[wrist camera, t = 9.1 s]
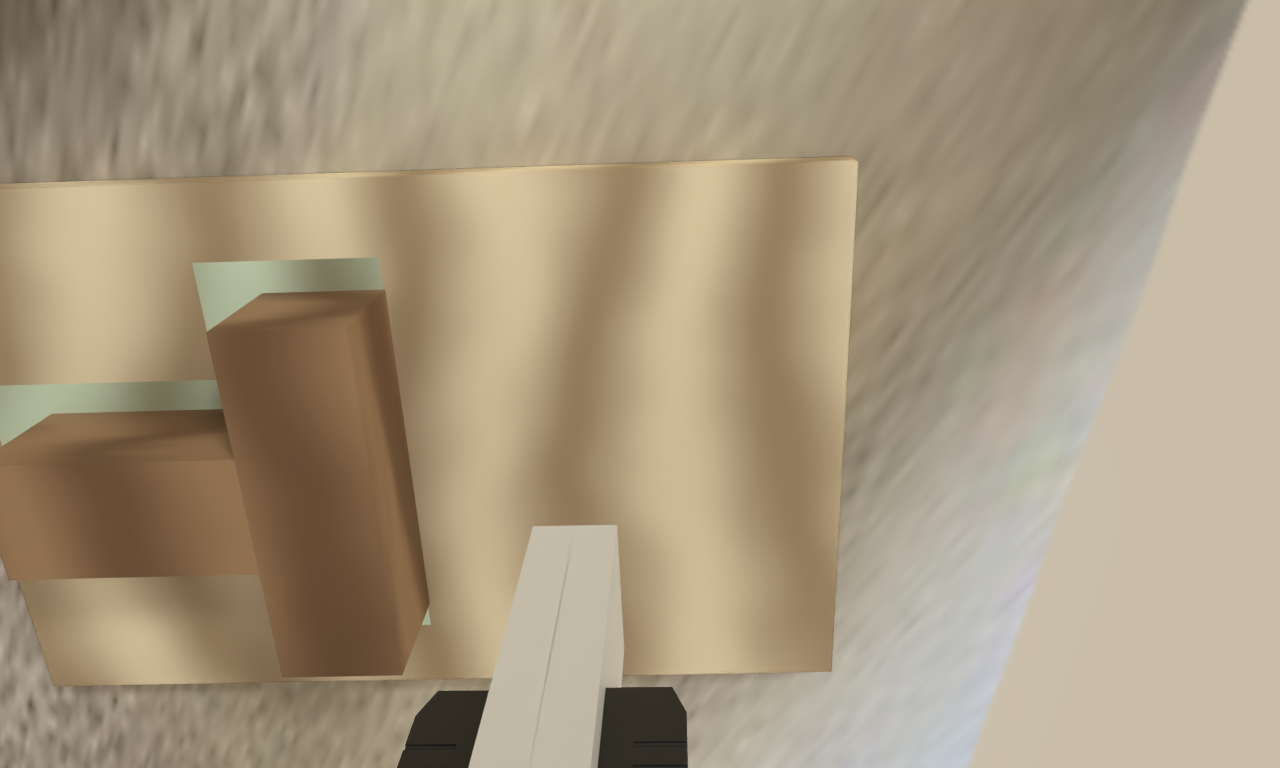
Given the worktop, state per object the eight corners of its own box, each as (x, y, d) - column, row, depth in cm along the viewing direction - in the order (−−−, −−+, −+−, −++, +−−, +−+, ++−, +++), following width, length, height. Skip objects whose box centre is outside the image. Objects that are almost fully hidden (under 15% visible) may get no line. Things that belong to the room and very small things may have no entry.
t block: (385, 289, 29) (346, 328, 26) (429, 603, 34) (402, 675, 30) (18, 300, 30) (-72, 340, 26) (110, 610, 34) (43, 682, 30)
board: (850, 156, 29) (858, 161, 28) (826, 651, 36) (831, 671, 35) (-82, 186, 30) (-111, 193, 29) (71, 666, 37) (53, 686, 36)
